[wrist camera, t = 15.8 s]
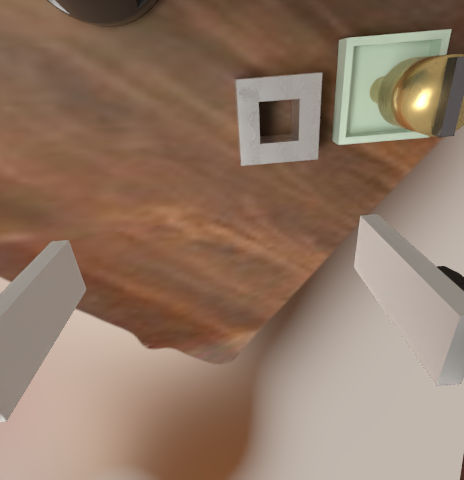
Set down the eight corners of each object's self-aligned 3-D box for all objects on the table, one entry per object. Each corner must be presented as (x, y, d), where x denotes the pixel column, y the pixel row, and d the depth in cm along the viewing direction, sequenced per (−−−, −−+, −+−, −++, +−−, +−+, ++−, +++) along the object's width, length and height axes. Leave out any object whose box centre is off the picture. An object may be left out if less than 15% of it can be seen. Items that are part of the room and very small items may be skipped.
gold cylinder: (352, 121, 39) (409, 142, 27) (358, 61, 36) (424, 56, 24) (404, 116, 39) (483, 135, 27) (414, 56, 36) (507, 49, 24)
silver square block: (234, 79, 37) (235, 79, 33) (311, 72, 37) (322, 72, 33) (239, 156, 41) (241, 165, 37) (308, 150, 41) (317, 159, 37)
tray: (339, 39, 35) (347, 37, 33) (437, 31, 35) (451, 29, 33) (331, 140, 41) (338, 144, 38) (417, 133, 41) (428, 137, 38)
